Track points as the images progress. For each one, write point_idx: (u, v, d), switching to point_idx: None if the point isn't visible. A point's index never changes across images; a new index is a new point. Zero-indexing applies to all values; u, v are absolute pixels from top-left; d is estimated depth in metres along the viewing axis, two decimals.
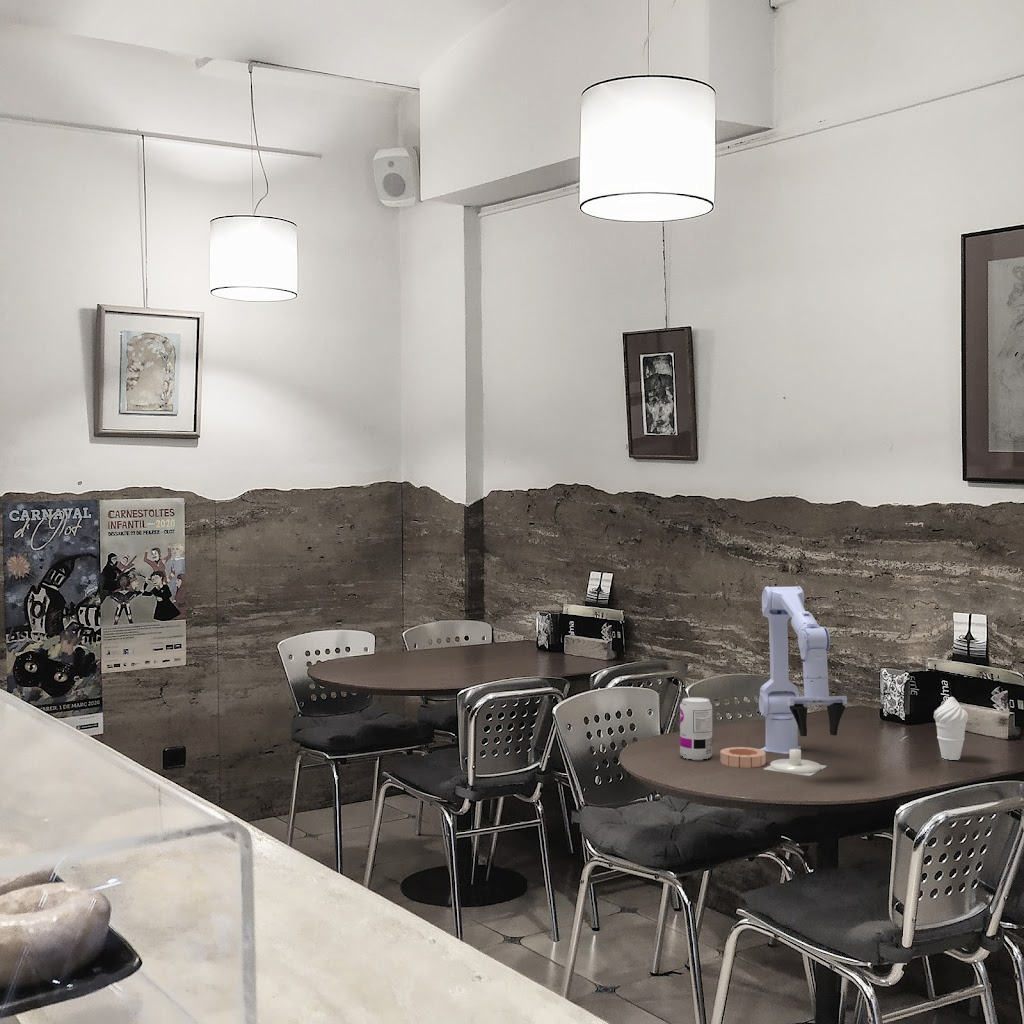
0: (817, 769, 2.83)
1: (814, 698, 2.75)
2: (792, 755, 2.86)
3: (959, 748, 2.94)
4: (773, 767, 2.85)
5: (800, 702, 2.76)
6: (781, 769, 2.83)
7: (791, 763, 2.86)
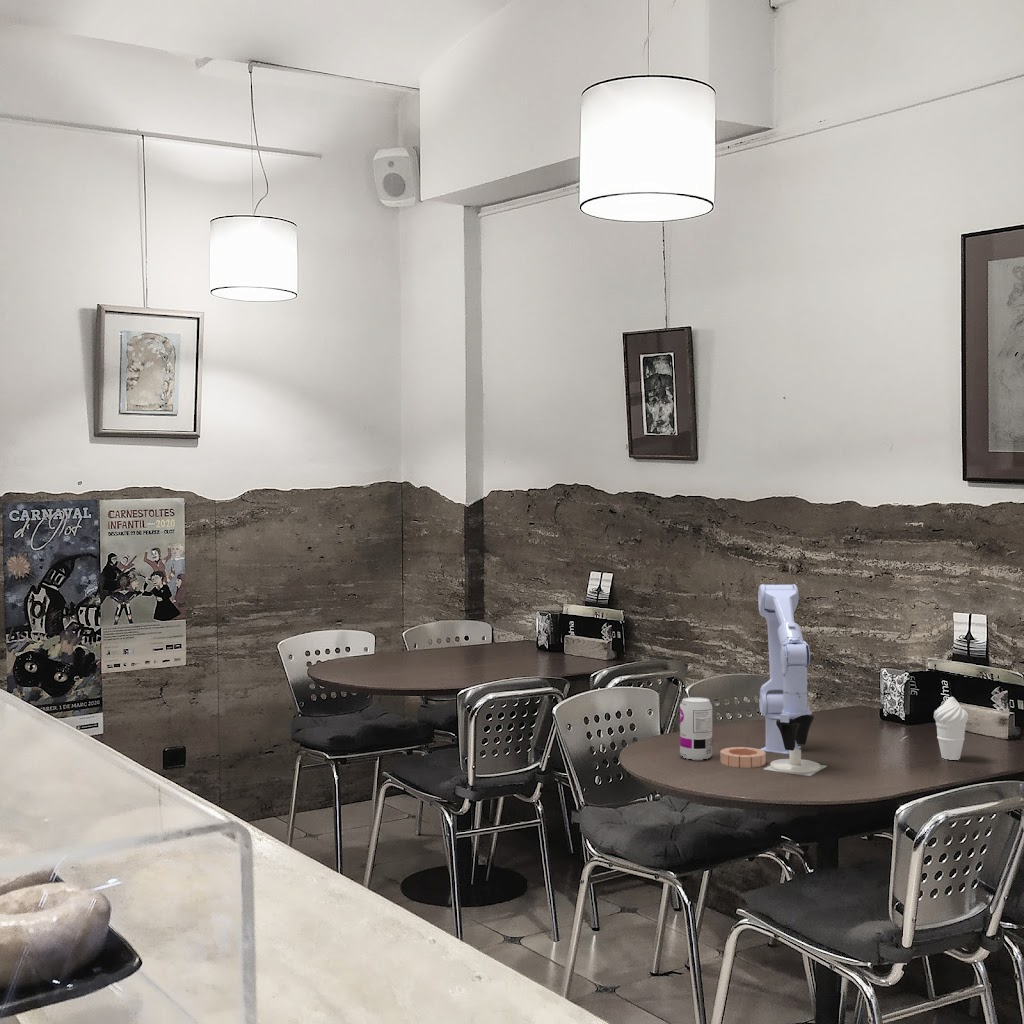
0: (817, 769, 2.83)
1: (802, 713, 2.84)
2: (792, 755, 2.86)
3: (959, 748, 2.94)
4: (773, 767, 2.85)
5: (789, 718, 2.83)
6: (781, 769, 2.83)
7: (791, 763, 2.86)
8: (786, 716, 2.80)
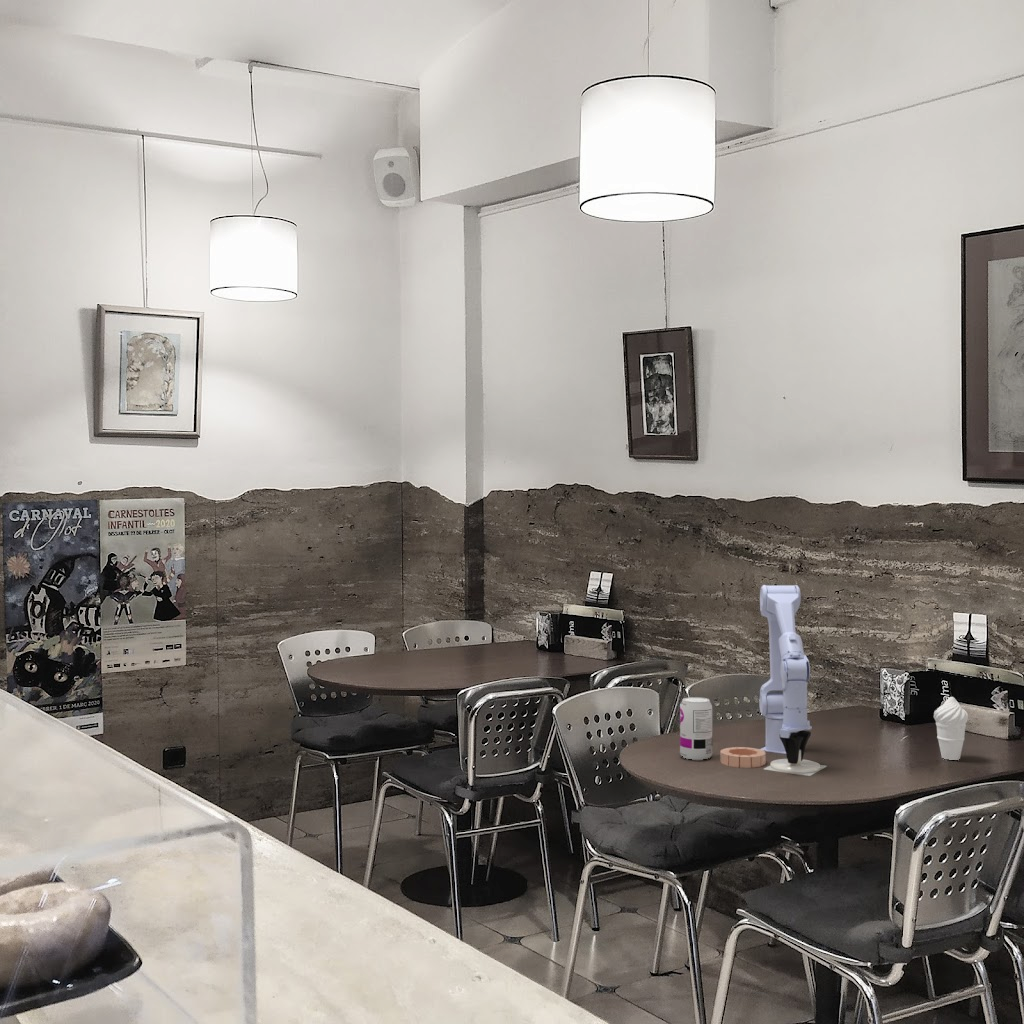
0: (817, 769, 2.83)
1: (802, 728, 2.84)
2: None
3: (959, 748, 2.94)
4: (773, 767, 2.85)
5: (789, 733, 2.83)
6: (781, 769, 2.83)
7: (791, 763, 2.86)
8: (786, 731, 2.80)
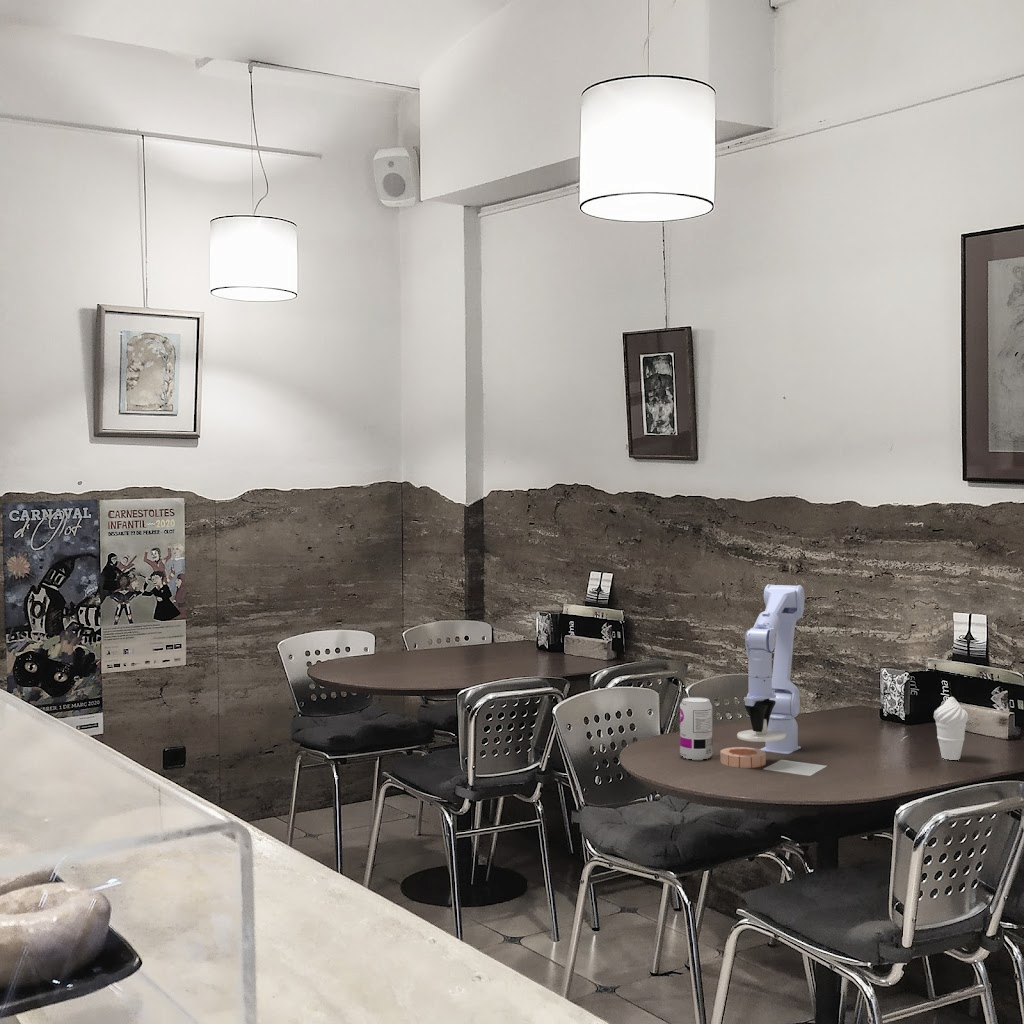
0: (783, 737, 2.86)
1: (767, 697, 2.87)
2: None
3: (959, 748, 2.94)
4: (739, 737, 2.89)
5: (754, 701, 2.87)
6: (747, 738, 2.86)
7: (757, 732, 2.90)
8: (751, 699, 2.84)
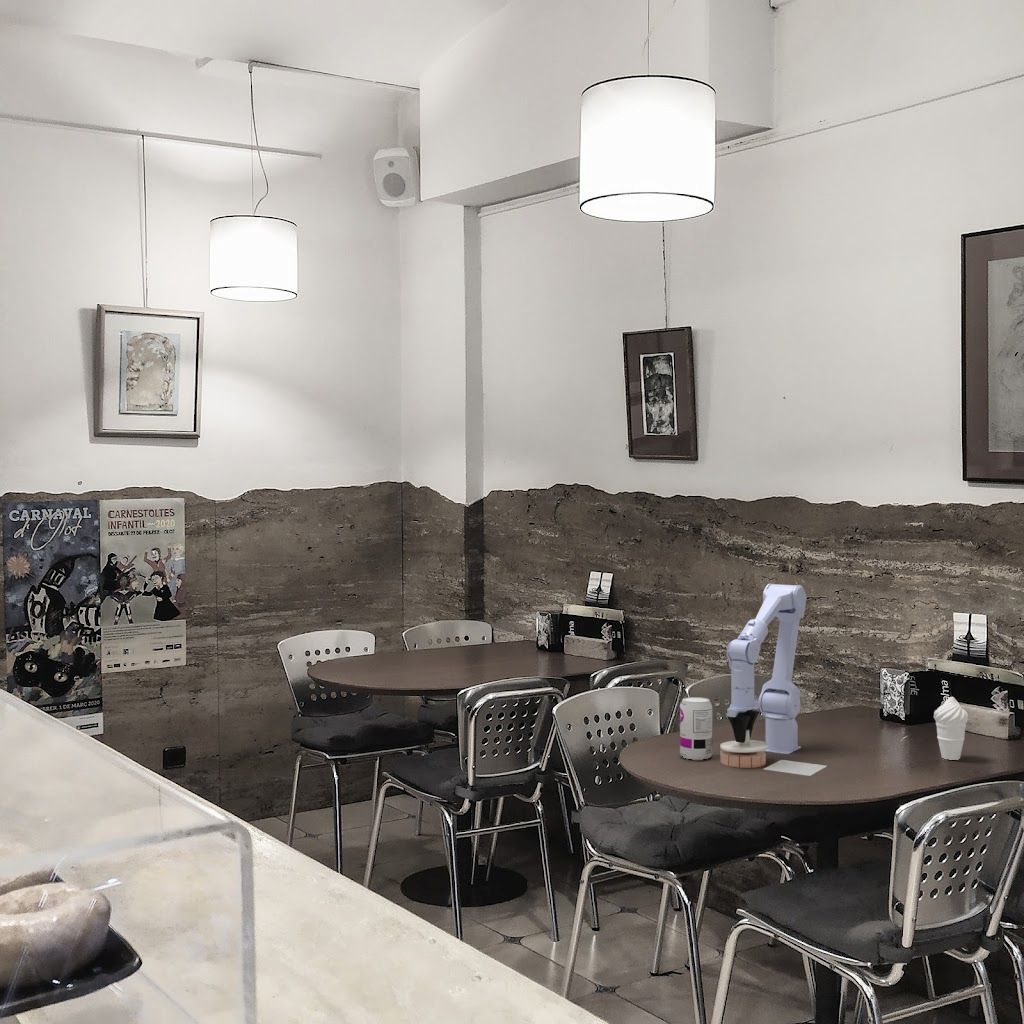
0: (765, 748, 2.88)
1: (749, 708, 2.89)
2: None
3: (959, 748, 2.94)
4: (722, 748, 2.91)
5: (736, 712, 2.89)
6: (730, 749, 2.88)
7: (740, 743, 2.92)
8: (733, 711, 2.86)
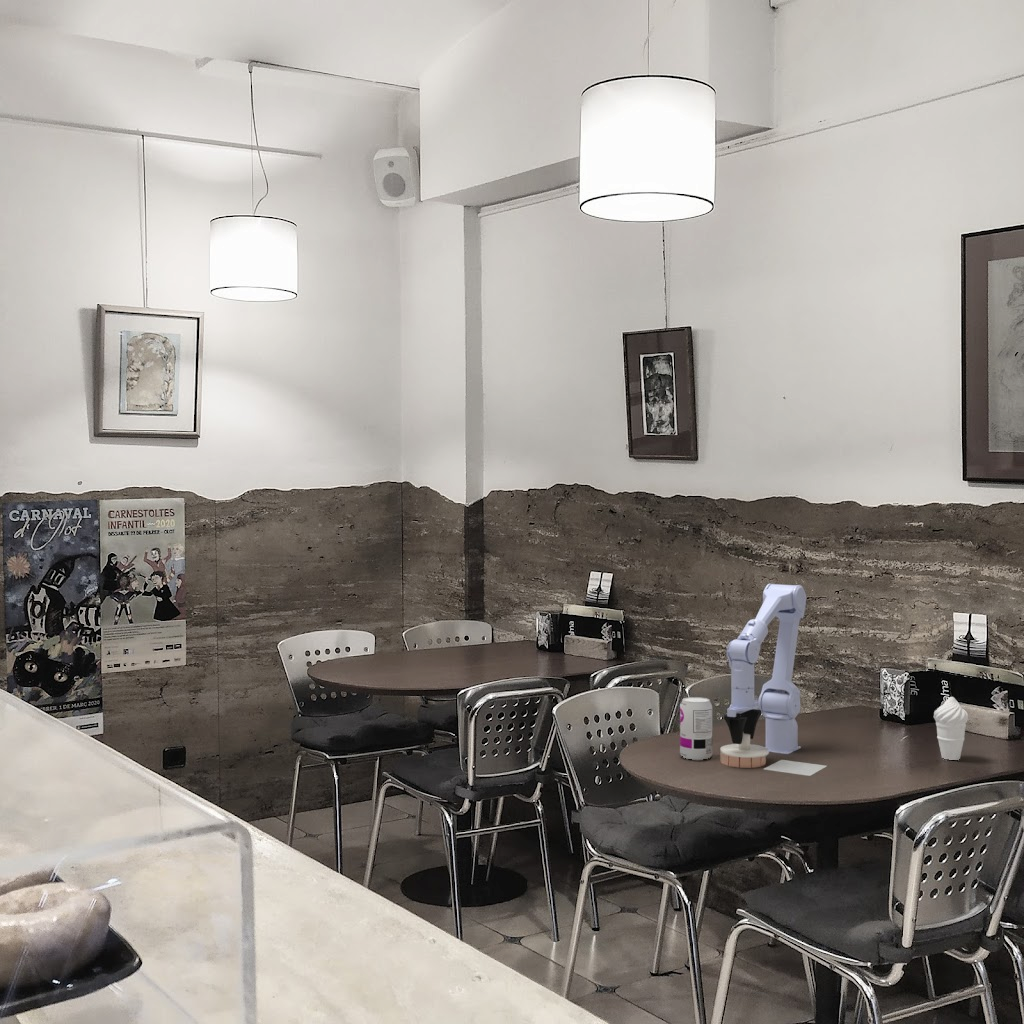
0: (765, 753, 2.88)
1: (749, 708, 2.89)
2: None
3: (959, 748, 2.94)
4: (722, 752, 2.91)
5: (736, 712, 2.89)
6: (730, 753, 2.88)
7: (740, 748, 2.92)
8: (733, 710, 2.86)
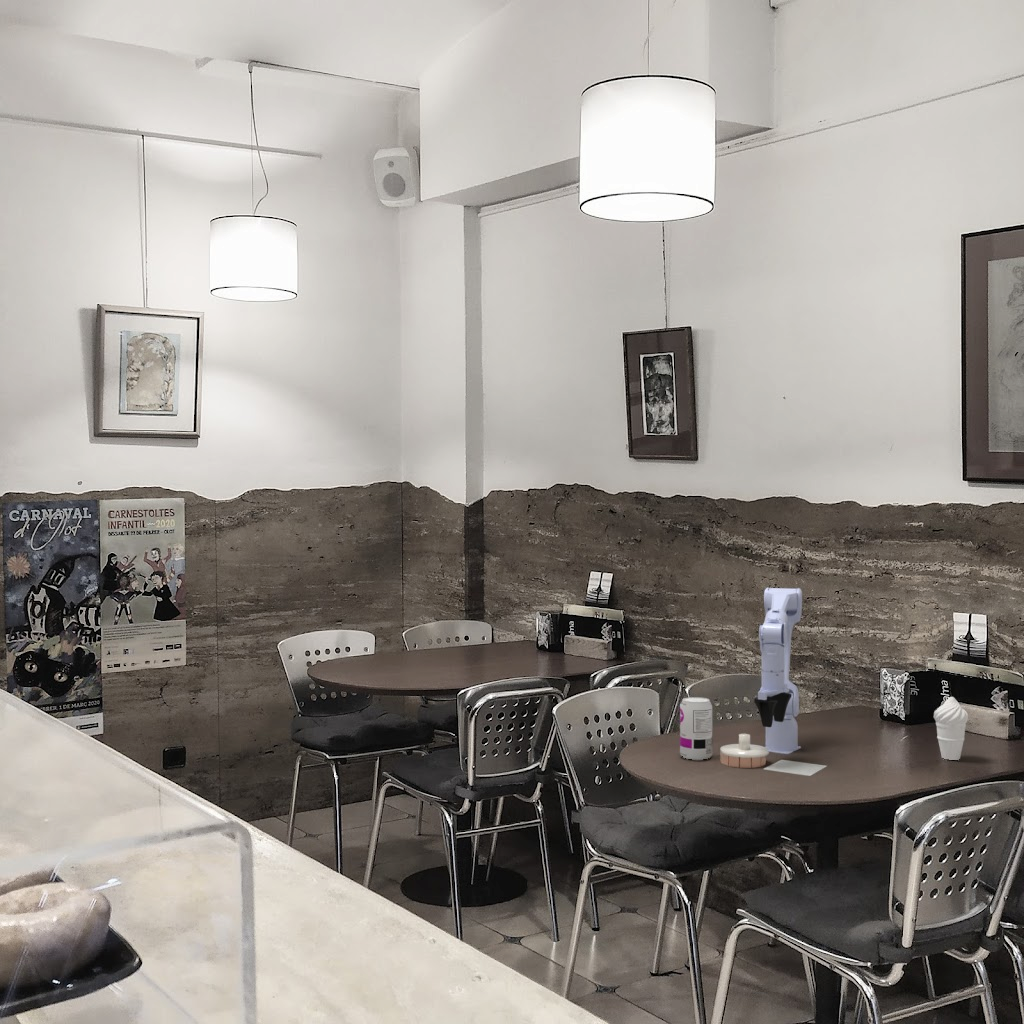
0: (765, 753, 2.88)
1: (780, 691, 2.90)
2: (741, 740, 2.91)
3: (959, 748, 2.94)
4: (722, 752, 2.91)
5: (767, 695, 2.89)
6: (730, 753, 2.88)
7: (740, 748, 2.92)
8: (763, 693, 2.87)
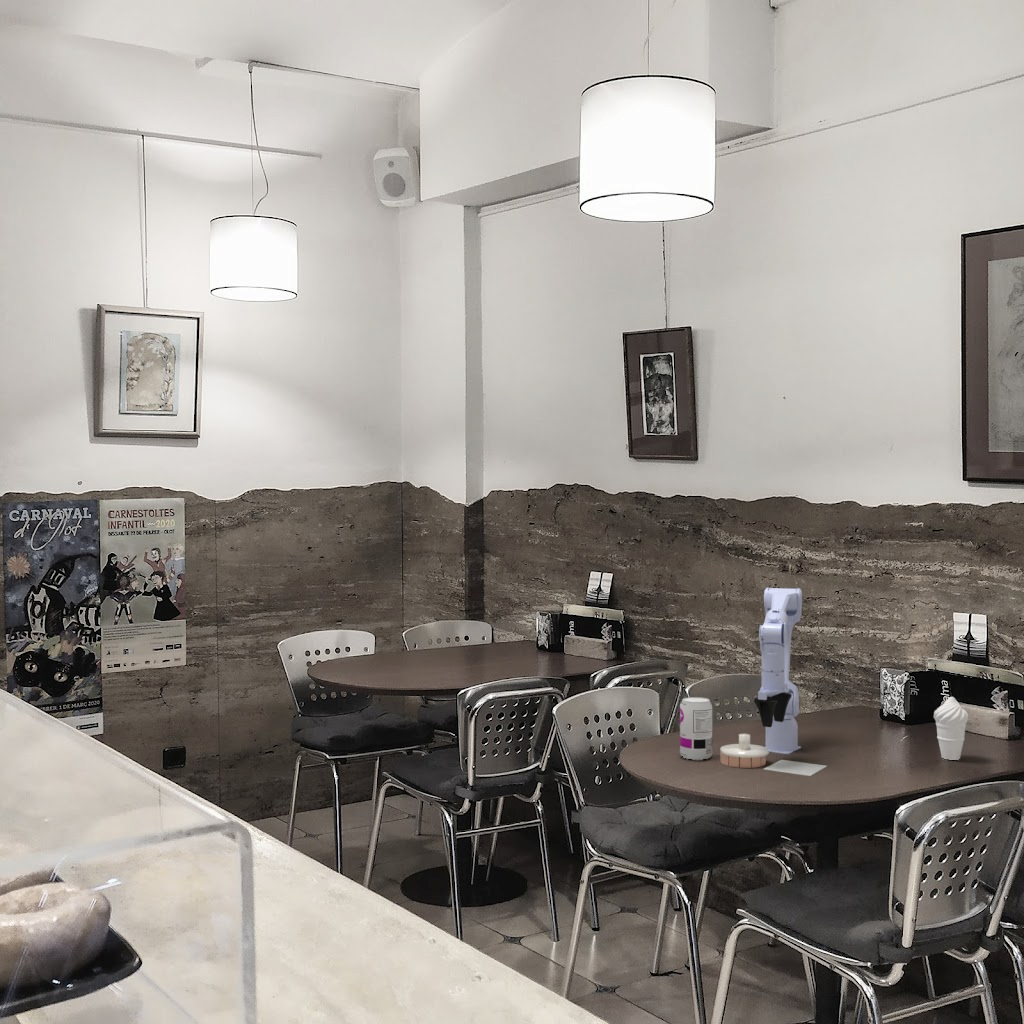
0: (765, 753, 2.88)
1: (780, 691, 2.90)
2: (741, 740, 2.91)
3: (959, 748, 2.94)
4: (722, 752, 2.91)
5: (767, 695, 2.89)
6: (730, 753, 2.88)
7: (740, 748, 2.92)
8: (764, 693, 2.87)
